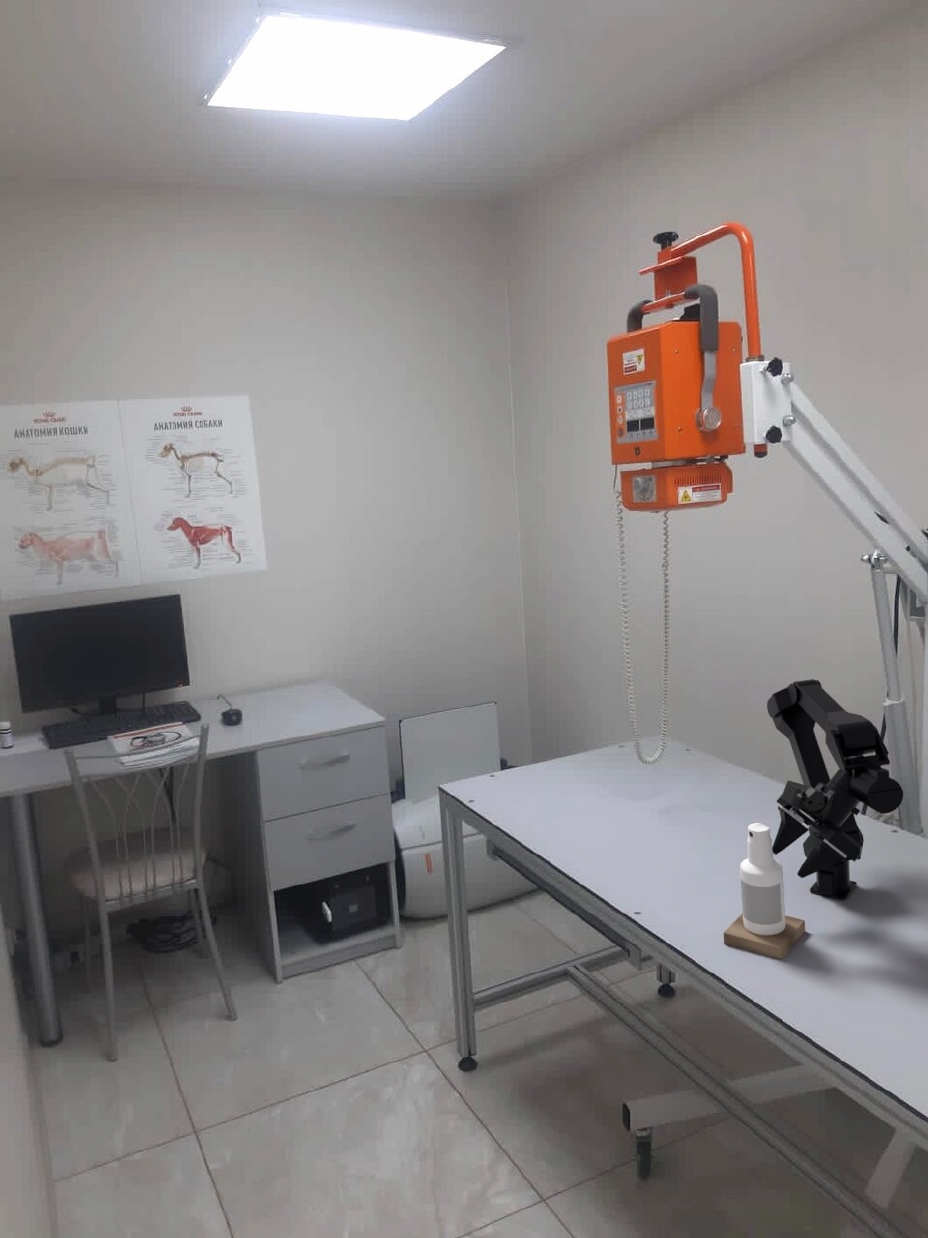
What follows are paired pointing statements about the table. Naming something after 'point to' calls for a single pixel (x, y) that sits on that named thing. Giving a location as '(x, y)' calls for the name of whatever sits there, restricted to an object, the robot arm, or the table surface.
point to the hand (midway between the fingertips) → (786, 864)
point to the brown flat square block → (765, 937)
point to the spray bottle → (762, 885)
